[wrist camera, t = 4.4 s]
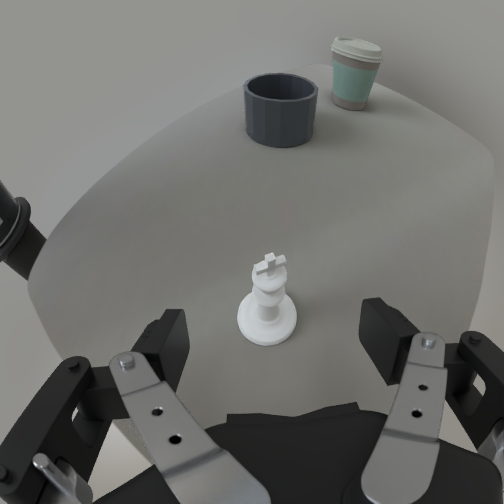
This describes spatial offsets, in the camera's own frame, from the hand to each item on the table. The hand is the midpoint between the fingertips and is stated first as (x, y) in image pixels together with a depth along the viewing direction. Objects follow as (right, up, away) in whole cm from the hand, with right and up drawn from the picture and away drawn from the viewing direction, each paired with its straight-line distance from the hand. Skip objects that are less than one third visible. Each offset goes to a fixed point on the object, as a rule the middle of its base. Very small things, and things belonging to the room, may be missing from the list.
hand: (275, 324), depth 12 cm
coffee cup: (+16, +29, +29) cm, 44 cm away
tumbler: (+3, +21, +24) cm, 32 cm away
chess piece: (0, -2, +11) cm, 11 cm away
